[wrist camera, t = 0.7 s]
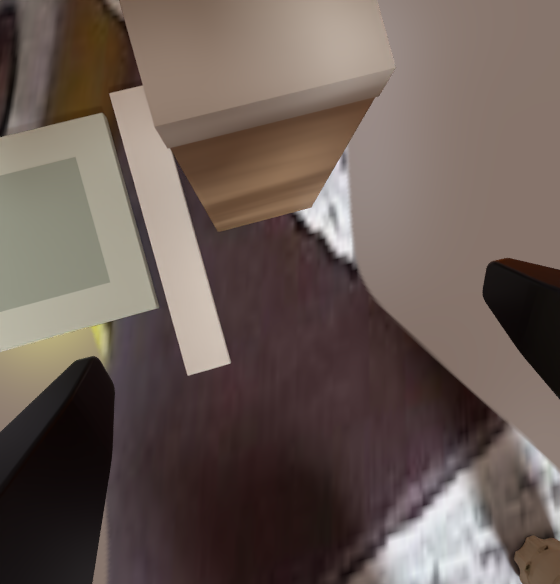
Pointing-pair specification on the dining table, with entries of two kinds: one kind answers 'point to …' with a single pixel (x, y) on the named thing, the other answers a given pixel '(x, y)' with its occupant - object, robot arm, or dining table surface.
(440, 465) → the dining table surface
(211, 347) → the strip
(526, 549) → the handle
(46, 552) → the robot arm
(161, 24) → the block
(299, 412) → the dining table surface
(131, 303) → the pad
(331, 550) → the dining table surface
